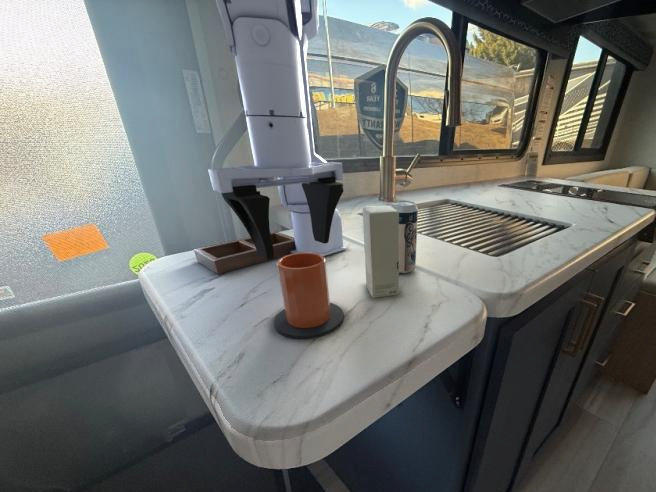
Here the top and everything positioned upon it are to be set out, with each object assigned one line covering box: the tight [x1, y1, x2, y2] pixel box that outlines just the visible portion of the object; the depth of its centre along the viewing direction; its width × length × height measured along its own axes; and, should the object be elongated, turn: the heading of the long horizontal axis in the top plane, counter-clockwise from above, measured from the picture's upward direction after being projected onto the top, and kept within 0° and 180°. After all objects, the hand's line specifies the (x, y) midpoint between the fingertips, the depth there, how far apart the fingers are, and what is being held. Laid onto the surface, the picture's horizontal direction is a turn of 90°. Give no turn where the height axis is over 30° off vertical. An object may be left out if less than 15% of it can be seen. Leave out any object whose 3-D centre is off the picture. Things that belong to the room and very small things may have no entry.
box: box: [362, 205, 400, 298], centre depth 47 cm, size 5×4×13 cm
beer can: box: [390, 200, 419, 274], centre depth 55 cm, size 5×5×12 cm
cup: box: [276, 253, 331, 328], centre depth 40 cm, size 6×6×8 cm
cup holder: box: [193, 231, 296, 275], centre depth 62 cm, size 9×17×2 cm, turn 140°
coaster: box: [273, 302, 345, 340], centre depth 42 cm, size 9×9×1 cm
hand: (295, 248), depth 37 cm, fingers open, 7 cm apart
